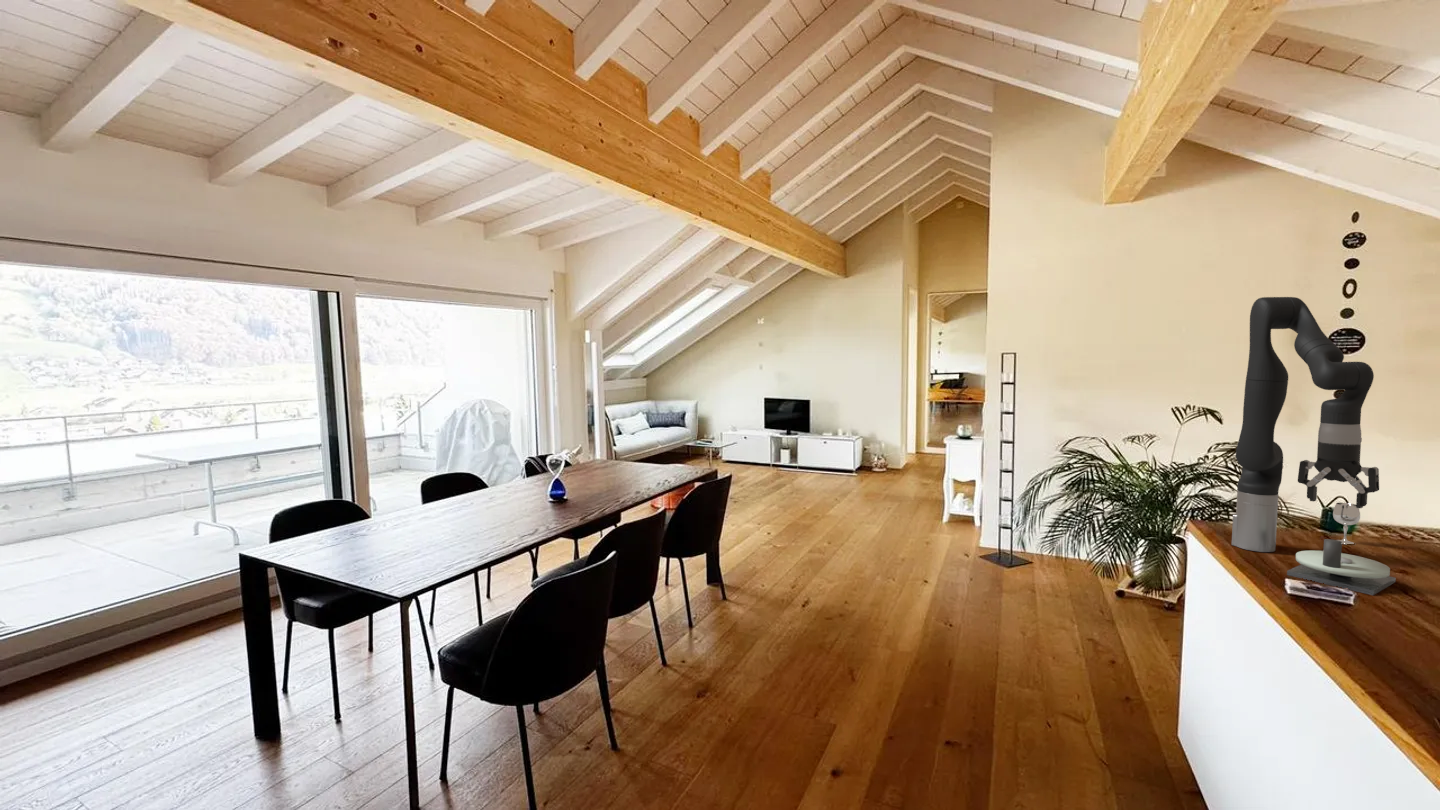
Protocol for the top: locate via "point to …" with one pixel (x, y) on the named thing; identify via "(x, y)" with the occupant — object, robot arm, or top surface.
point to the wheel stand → (1342, 580)
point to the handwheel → (1341, 562)
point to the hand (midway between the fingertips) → (1335, 504)
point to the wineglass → (1346, 517)
